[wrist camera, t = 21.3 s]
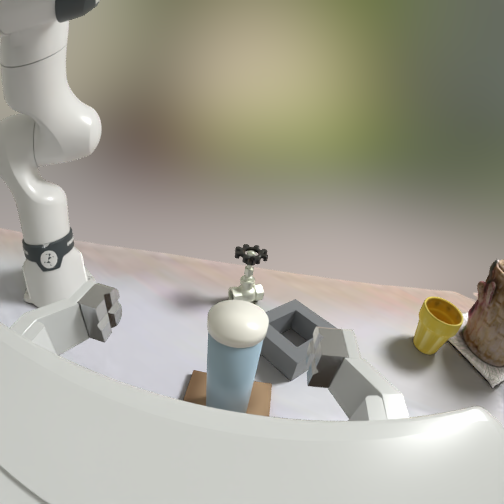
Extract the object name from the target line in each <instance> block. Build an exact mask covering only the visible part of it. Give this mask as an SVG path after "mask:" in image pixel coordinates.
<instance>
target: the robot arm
mask: <svg viewBox="0 0 504 504" xmlns="http://www.w3.org/2000/svg"><path fill="white" fill-rule="evenodd" d="M99 1H100V0H0V37H1V46H0V62H1V76H2V85H3V93H4V99H5V101H6V103H7V104H8V106H9V107H11V108H12V109H13V110H15V111H17V112H20V113H21V114H17V115H12V116H9V117H7V118H5V119H3V120H1V121H0V177H1V178H2V179H3V181H4V182H5V183H6V184H7V186H8V188H9V189H10V191H11V193H12V195H13V197H14V200H15V202H16V206H17V210H18V214H19V219H20V224H21V229H22V234H23V240H22V243H23V250H24V253H25V257H26V261H25V262H24V265H23V266H22V269H23V274H24V278H25V282H26V286H27V288H26V291H25V294H24V300H25V302H28V303H33V304H34V305H36V306H37V307H38V309H35V310H32V311H29V312H26V313H24V314H23V315H22V316H21V317H20V318H19V319H18V320H17V321H16V322H15V323H14V324H13V325H12V326H11V327H10V328H8V327H7V326H5V325H4V324H2V323H1V322H0V504H504V427H503V425H502V424H501V423H500V422H499V421H498V420H497V419H496V418H495V417H494V416H493V415H492V414H491V413H489V412H488V411H487V410H485V409H484V408H482V407H480V406H474V407H469V408H464V409H460V410H455V411H450V412H444V413H439V414H433V415H426V416H418V417H410V418H409V415H408V411H407V408H406V404H405V401H404V397H403V394H402V393H401V392H400V391H399V390H398V389H397V388H395V387H394V386H393V385H392V384H391V383H390V382H389V381H388V380H387V379H386V378H385V377H384V376H383V375H382V374H380V373H379V372H378V371H377V370H376V369H375V368H374V367H373V366H372V365H371V364H370V363H369V362H368V361H367V360H365V359H361V355H360V351H359V347H358V344H357V340H356V337H355V333H354V331H353V330H350V329H335V328H325V327H317V326H316V328H315V330H314V333H313V340H312V341H311V342H310V344H309V347H308V350H307V357H306V363H307V366H308V367H309V369H308V372H307V383H308V386H312V387H323V388H328V390H329V391H330V392H331V394H332V395H333V397H334V398H335V399H336V401H337V402H338V404H339V405H340V406H341V408H342V409H343V411H344V412H345V414H346V415H347V416H348V418H349V420H348V421H319V420H301V419H288V418H278V417H269V416H261V415H253V414H246V413H240V412H234V411H228V410H223V409H218V408H213V407H208V406H203V405H199V404H194V403H190V402H186V401H182V400H178V399H174V398H171V397H167V396H163V395H160V394H157V393H153V392H150V391H147V390H144V389H140V388H137V387H134V386H131V385H129V384H126V383H123V382H120V381H117V380H115V379H112V378H109V377H107V376H104V375H102V374H99V373H97V372H94V371H92V370H89V369H87V368H85V367H82V366H80V365H78V364H76V363H73V362H71V361H69V360H67V359H65V358H63V357H61V356H59V355H61V354H63V353H64V352H66V351H68V350H70V349H71V348H73V347H75V346H76V345H78V344H80V343H82V342H83V341H85V340H87V339H89V337H90V338H93V339H95V340H98V341H102V342H106V340H107V339H108V337H109V336H110V335H111V333H112V330H111V328H113V327H115V326H117V325H118V323H119V322H120V319H121V316H122V308H121V305H120V303H119V302H118V301H117V300H118V299H119V297H120V296H119V292H118V290H117V289H116V288H113V287H109V286H106V285H103V284H99V283H96V282H95V279H94V278H93V277H92V275H91V274H90V273H89V271H88V270H87V269H86V267H85V265H84V262H83V257H82V253H80V252H79V250H78V249H76V248H75V247H74V236H73V233H72V229H71V227H70V225H69V217H68V207H67V197H66V194H65V192H64V191H63V189H62V188H61V187H59V186H58V185H56V184H54V183H51V182H49V181H46V180H44V179H43V178H42V177H41V175H40V173H39V171H38V167H39V166H44V165H51V164H57V163H65V162H70V161H73V160H77V159H79V158H83V157H86V156H89V155H90V154H91V153H92V152H93V151H94V150H95V148H96V147H97V145H98V143H99V140H100V137H101V129H102V127H101V121H100V118H99V116H98V114H97V112H96V111H95V110H94V109H93V108H92V107H90V106H87V105H86V104H84V103H83V102H81V101H80V100H79V99H78V98H77V97H76V96H75V95H74V94H73V92H72V91H71V89H70V87H69V85H68V82H67V77H66V49H67V39H68V27H69V20H72V19H75V18H78V17H81V16H83V15H85V14H86V13H88V12H89V11H91V10H92V9H93V8H95V7H96V6H97V4H98V3H99Z"/></svg>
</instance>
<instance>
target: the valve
mask: <svg viewBox="0 0 504 504" xmlns="http://www.w3.org/2000/svg"><path fill="white" fill-rule="evenodd" d="M245 251H248V252H247V255H246V254H245ZM256 252H257V253H258V254H259V255H258V256H255V254H256ZM239 256H241V257H243V262H244V263H246V264H247V266H246V267H245V272H244V274H245V275H244V276H242V277H241V279H240V284H241V285H240V286H239V287H230V288H229V291H228V296H229V300H243V301H247V302H250V303H251V302H253V301H258V300H262V299H263V296H264V292H263V288H262V286H261V284H255V278H254V277H253V276H252V275H253V270H254V267H252V265H255V264H260V259H261V258H263V259H264V260H263V261H267V259H268V255H267V250H265V249H262V250H260V249H259V246H257V245H255V246H254V247H249V245H247V244H244V245H243V248H241V247H236V250H235V258H239Z"/></svg>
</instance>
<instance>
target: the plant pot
mask: <svg viewBox="0 0 504 504" xmlns="http://www.w3.org/2000/svg"><path fill="white" fill-rule="evenodd" d="M462 324H463V315H462V313H461V312H460V310H459V309H458V308H457V307H456V306H455V305H453V304H452V303H450V302H449V301H447V300H445V299H442V298H439V297H428V298H427V299H426V300H425V301H424V303H423V305H422V307H421V309H420V312H419V322H418V326H417V329H416V332H415V336H414V339H413V342H414V345H415V347H416V348H417V349H418V350H419V351H420V352H422V353H424V354H429V355H430V354H434V353H435V352H437V351H438V349H439V348H440V347H441V346H442V345H443V344H444V343H445V342H446V341H447V340H448V339H449V338H451V337H453V336H455V335H456V333H457V332H458V330H459V329H460V327H461V325H462Z"/></svg>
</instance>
